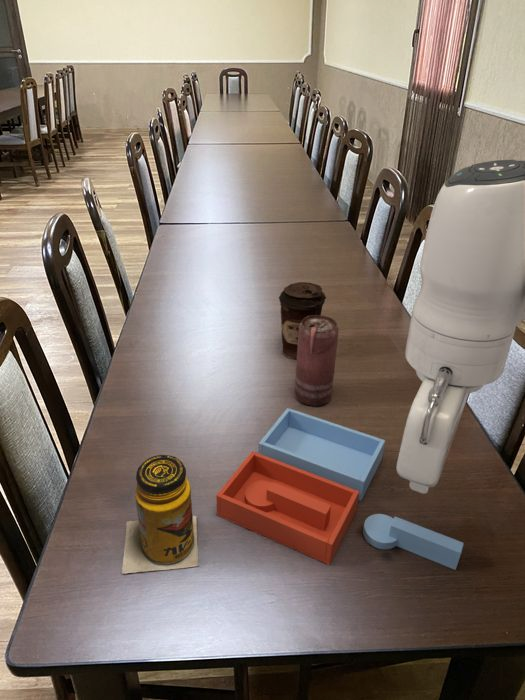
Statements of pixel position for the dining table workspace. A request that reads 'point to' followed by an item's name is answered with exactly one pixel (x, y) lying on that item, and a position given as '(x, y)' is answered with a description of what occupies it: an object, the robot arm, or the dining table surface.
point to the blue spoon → (411, 539)
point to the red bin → (279, 524)
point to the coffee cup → (298, 312)
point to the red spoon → (288, 503)
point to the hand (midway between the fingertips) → (430, 458)
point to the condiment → (161, 519)
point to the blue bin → (324, 449)
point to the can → (316, 359)
